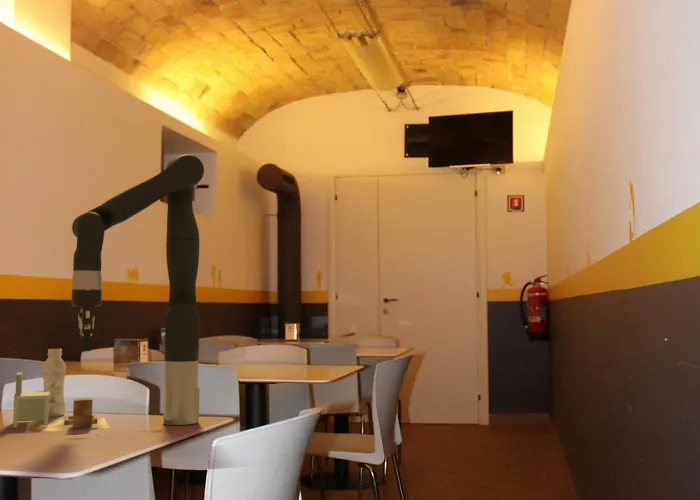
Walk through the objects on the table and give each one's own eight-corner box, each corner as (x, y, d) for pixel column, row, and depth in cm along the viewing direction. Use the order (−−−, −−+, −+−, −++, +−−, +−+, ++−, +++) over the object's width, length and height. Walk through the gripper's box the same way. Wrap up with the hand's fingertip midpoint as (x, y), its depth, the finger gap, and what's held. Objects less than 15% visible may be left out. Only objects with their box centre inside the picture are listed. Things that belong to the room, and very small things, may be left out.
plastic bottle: (70, 418, 217) (72, 348, 219) (49, 421, 212) (51, 350, 213) (55, 416, 221) (58, 348, 222) (35, 419, 215) (37, 349, 217)
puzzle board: (104, 421, 212) (104, 413, 212) (109, 432, 193) (109, 423, 194) (27, 425, 205) (27, 417, 205) (25, 436, 186) (25, 427, 186)
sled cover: (48, 419, 206) (49, 371, 207) (48, 425, 196) (49, 374, 197) (14, 421, 203) (16, 372, 204) (12, 427, 193) (14, 375, 194)
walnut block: (91, 424, 197) (91, 397, 198) (91, 427, 193) (92, 399, 194) (72, 425, 196) (73, 398, 196) (73, 428, 192) (73, 400, 192)
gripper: (70, 289, 203) (69, 349, 202) (72, 287, 190) (71, 352, 189) (100, 289, 206) (98, 348, 205) (103, 287, 193) (102, 351, 192)
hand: (85, 350), depth 197 cm, fingers open, 8 cm apart
